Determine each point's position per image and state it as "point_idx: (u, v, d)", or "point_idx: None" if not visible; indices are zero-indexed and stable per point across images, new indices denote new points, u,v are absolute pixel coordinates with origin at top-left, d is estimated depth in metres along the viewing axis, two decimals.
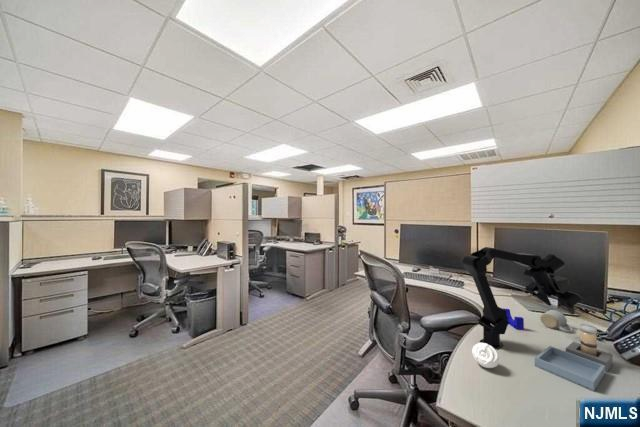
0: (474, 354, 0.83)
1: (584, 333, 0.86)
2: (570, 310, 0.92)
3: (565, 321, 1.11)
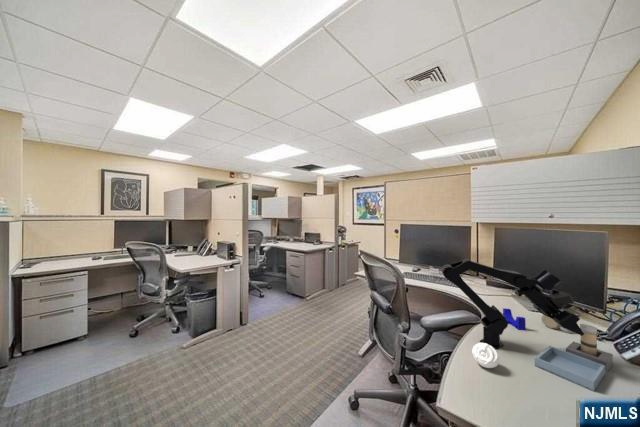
0: (474, 354, 0.83)
1: (584, 333, 0.86)
2: (575, 331, 0.83)
3: None
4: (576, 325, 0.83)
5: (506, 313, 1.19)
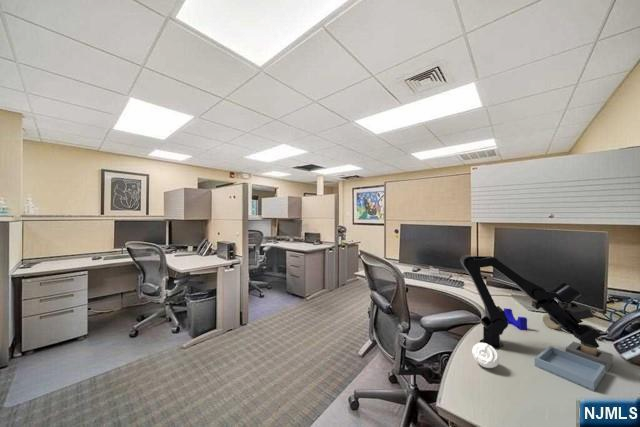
0: (474, 354, 0.83)
1: None
2: (590, 343, 0.84)
3: None
4: None
5: (507, 313, 1.19)
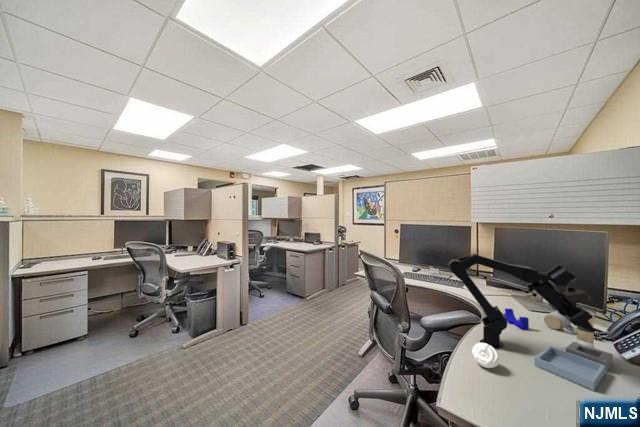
0: (474, 354, 0.83)
1: None
2: (585, 327, 0.82)
3: (569, 322, 1.09)
4: (586, 321, 0.81)
5: (508, 313, 1.19)
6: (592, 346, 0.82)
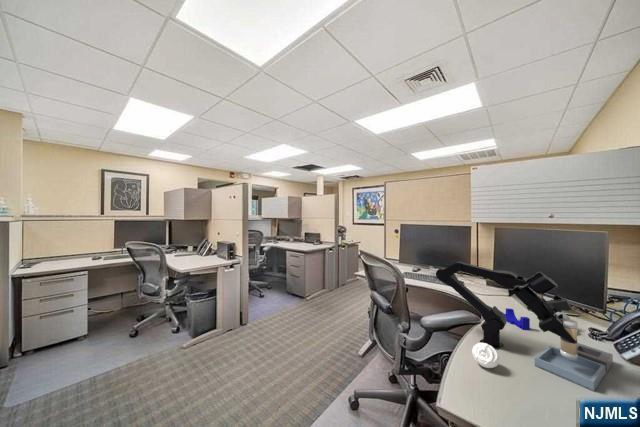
0: (474, 354, 0.83)
1: None
2: (563, 336, 0.79)
3: None
4: (564, 330, 0.79)
5: (509, 313, 1.19)
6: (574, 358, 0.78)
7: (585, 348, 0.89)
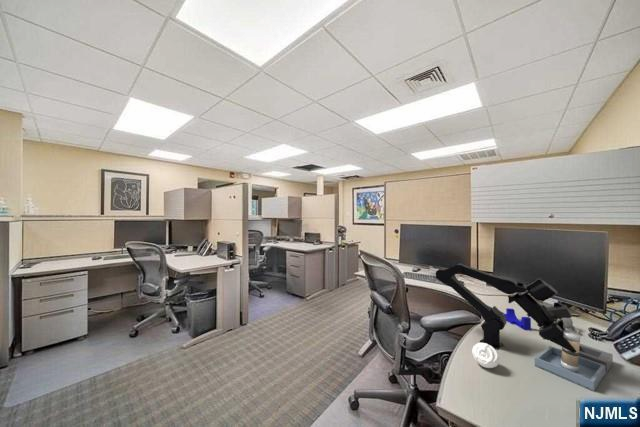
0: (474, 354, 0.83)
1: None
2: (563, 346, 0.78)
3: (571, 323, 1.09)
4: (564, 339, 0.78)
5: (510, 313, 1.19)
6: (574, 370, 0.78)
7: (585, 348, 0.89)
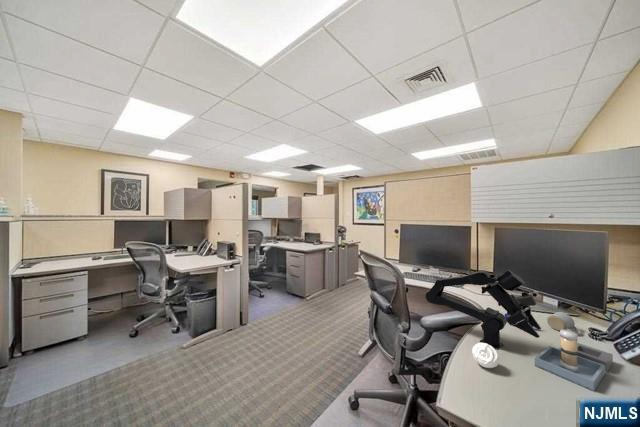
0: (474, 354, 0.83)
1: (561, 338, 0.81)
2: (528, 332, 0.84)
3: (573, 323, 1.08)
4: (528, 326, 0.84)
5: None
6: (574, 370, 0.78)
7: (585, 348, 0.89)
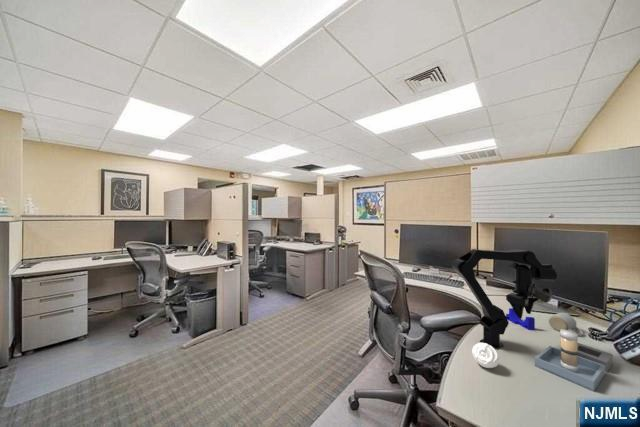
0: (474, 354, 0.83)
1: (561, 338, 0.81)
2: (515, 311, 0.93)
3: (575, 324, 1.07)
4: (520, 309, 0.92)
5: (512, 313, 1.20)
6: (574, 370, 0.78)
7: (585, 348, 0.89)
